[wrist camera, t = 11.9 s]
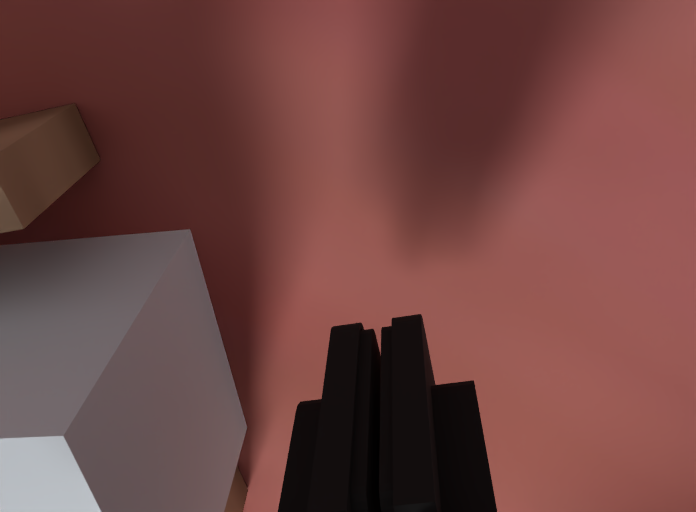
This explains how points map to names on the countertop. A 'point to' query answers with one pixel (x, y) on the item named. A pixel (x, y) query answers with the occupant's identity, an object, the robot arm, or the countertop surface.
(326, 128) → the countertop surface
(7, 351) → the white rectangular block
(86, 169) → the bay
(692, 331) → the countertop surface
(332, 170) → the countertop surface
